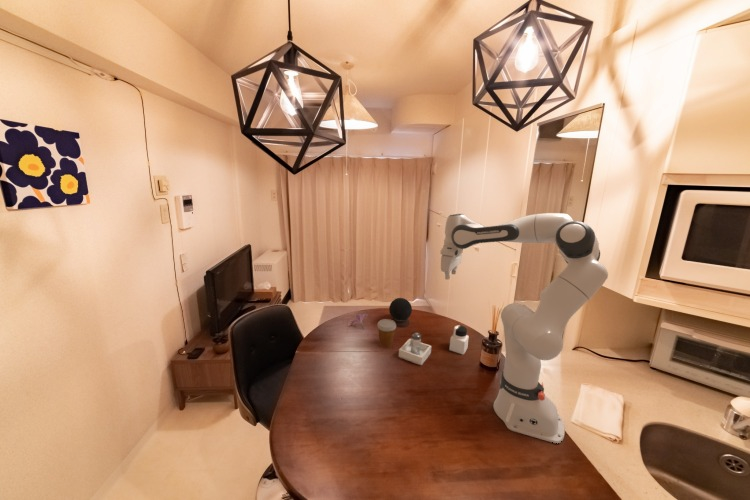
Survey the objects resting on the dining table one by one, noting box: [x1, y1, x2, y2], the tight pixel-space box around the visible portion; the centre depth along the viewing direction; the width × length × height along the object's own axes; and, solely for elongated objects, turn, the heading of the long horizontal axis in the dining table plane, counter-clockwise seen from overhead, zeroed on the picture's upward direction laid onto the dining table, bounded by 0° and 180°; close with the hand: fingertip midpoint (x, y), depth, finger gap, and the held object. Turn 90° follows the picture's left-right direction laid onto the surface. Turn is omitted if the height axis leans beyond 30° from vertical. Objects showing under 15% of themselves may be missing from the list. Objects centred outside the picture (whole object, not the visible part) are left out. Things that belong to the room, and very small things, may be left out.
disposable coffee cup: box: [376, 318, 397, 349], centre depth 145 cm, size 10×10×12 cm
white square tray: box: [398, 338, 432, 366], centre depth 137 cm, size 12×12×4 cm
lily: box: [349, 312, 369, 329], centre depth 162 cm, size 12×12×10 cm
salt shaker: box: [411, 331, 422, 355], centre depth 136 cm, size 4×4×11 cm
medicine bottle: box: [448, 325, 470, 355], centre depth 142 cm, size 7×7×12 cm
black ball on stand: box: [388, 297, 413, 328], centre depth 167 cm, size 13×13×15 cm
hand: (450, 276), depth 138 cm, fingers open, 8 cm apart
